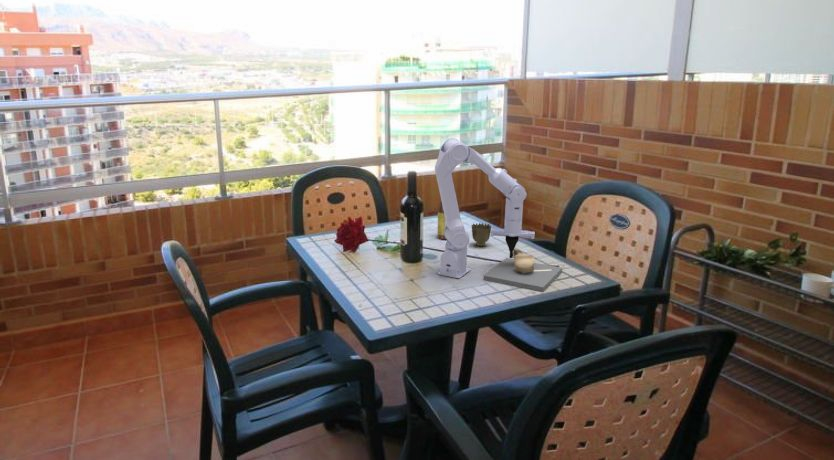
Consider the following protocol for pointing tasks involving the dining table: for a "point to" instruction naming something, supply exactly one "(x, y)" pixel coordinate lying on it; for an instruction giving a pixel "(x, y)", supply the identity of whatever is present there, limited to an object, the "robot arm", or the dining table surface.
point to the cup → (481, 233)
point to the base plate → (523, 275)
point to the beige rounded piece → (523, 261)
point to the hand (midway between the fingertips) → (511, 257)
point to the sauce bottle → (441, 222)
